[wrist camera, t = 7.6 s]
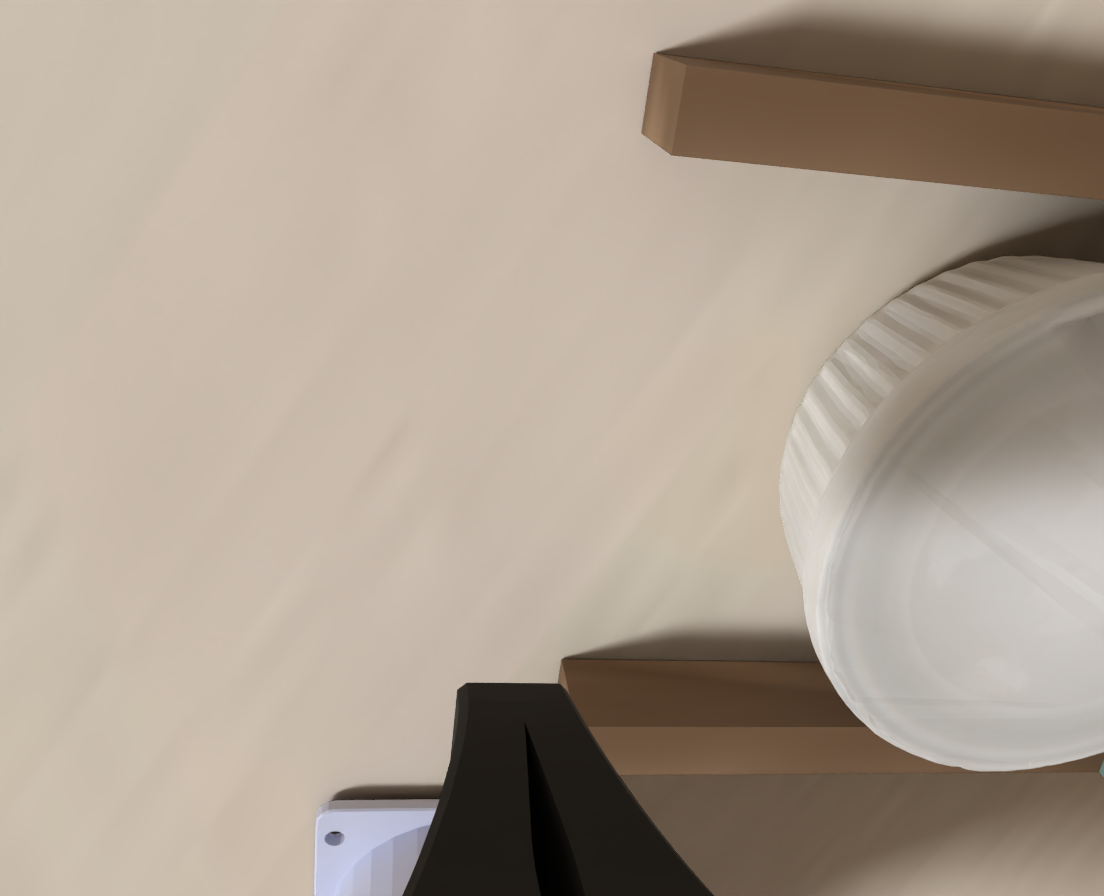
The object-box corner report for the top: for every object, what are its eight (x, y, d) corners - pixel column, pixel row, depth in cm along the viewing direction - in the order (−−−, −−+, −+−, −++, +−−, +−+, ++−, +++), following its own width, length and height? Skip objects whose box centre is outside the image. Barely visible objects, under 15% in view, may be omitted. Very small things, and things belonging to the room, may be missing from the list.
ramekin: (1268, 255, 23) (1491, 332, 18) (1068, 647, 27) (1205, 789, 23) (823, 168, 20) (946, 229, 16) (686, 611, 25) (751, 760, 20)
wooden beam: (1091, 708, 29) (1174, 799, 25) (554, 705, 26) (574, 807, 23) (1346, 137, 22) (1502, 166, 19) (653, 52, 19) (701, 71, 16)
